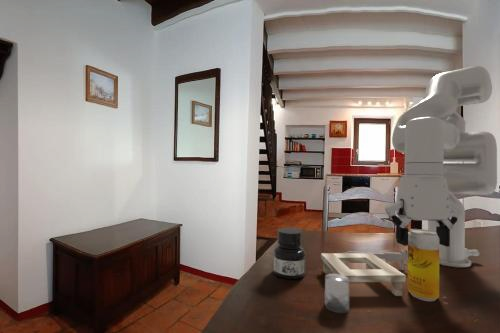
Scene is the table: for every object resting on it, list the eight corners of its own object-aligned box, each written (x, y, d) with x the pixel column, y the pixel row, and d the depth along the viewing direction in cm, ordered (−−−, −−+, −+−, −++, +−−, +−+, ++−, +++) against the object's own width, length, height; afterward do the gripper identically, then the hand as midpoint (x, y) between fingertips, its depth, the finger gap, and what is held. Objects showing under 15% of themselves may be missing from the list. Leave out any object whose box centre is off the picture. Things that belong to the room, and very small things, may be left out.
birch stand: (371, 270, 73) (371, 253, 73) (405, 296, 58) (405, 275, 58) (320, 270, 72) (321, 253, 72) (341, 297, 57) (341, 275, 57)
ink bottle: (269, 277, 67) (269, 233, 67) (274, 265, 76) (275, 226, 76) (306, 282, 65) (306, 236, 65) (307, 269, 73) (307, 228, 73)
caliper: (412, 272, 72) (412, 250, 72) (411, 273, 72) (411, 251, 72) (344, 254, 87) (344, 236, 87) (343, 255, 86) (343, 236, 86)
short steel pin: (343, 300, 56) (343, 273, 56) (353, 312, 51) (353, 283, 51) (321, 300, 56) (321, 273, 56) (329, 313, 51) (329, 283, 51)
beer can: (401, 289, 61) (402, 228, 61) (424, 289, 62) (425, 228, 62) (420, 303, 55) (420, 235, 55) (446, 302, 56) (446, 235, 56)
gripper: (445, 172, 62) (445, 240, 62) (378, 170, 62) (377, 239, 61) (473, 172, 55) (473, 250, 55) (397, 170, 54) (396, 248, 54)
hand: (422, 244), depth 58 cm, fingers open, 9 cm apart
